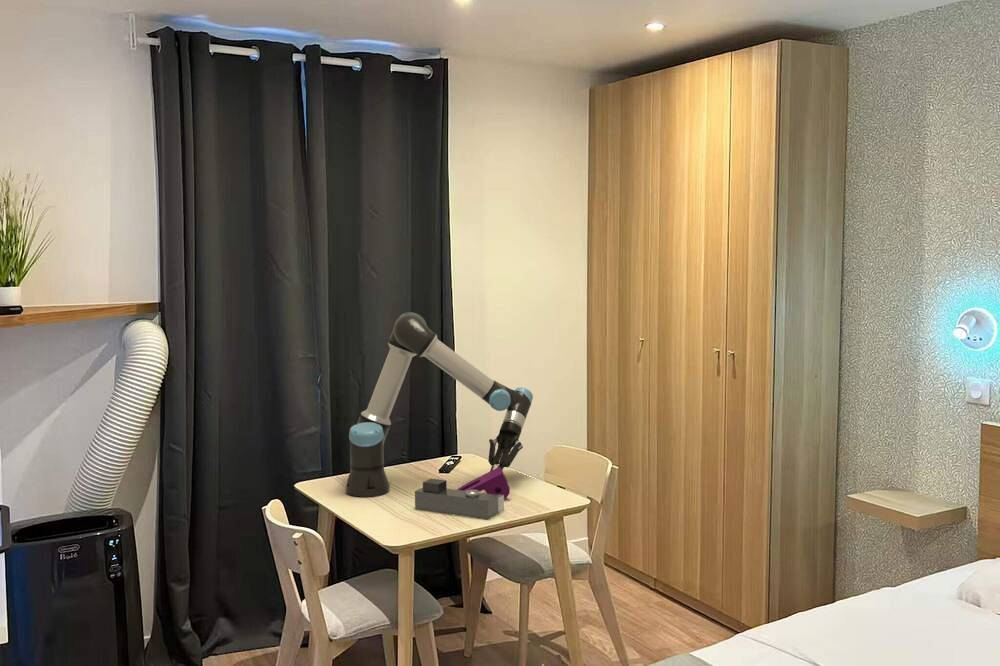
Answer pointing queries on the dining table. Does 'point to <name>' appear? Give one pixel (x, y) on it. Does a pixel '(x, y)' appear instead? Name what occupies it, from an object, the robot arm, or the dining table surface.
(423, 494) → the block
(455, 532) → the dining table surface
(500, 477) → the mounting bracket
